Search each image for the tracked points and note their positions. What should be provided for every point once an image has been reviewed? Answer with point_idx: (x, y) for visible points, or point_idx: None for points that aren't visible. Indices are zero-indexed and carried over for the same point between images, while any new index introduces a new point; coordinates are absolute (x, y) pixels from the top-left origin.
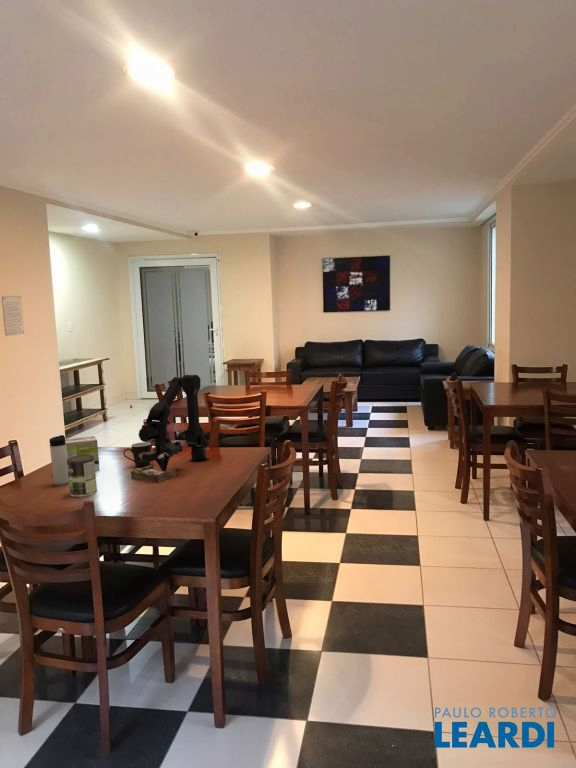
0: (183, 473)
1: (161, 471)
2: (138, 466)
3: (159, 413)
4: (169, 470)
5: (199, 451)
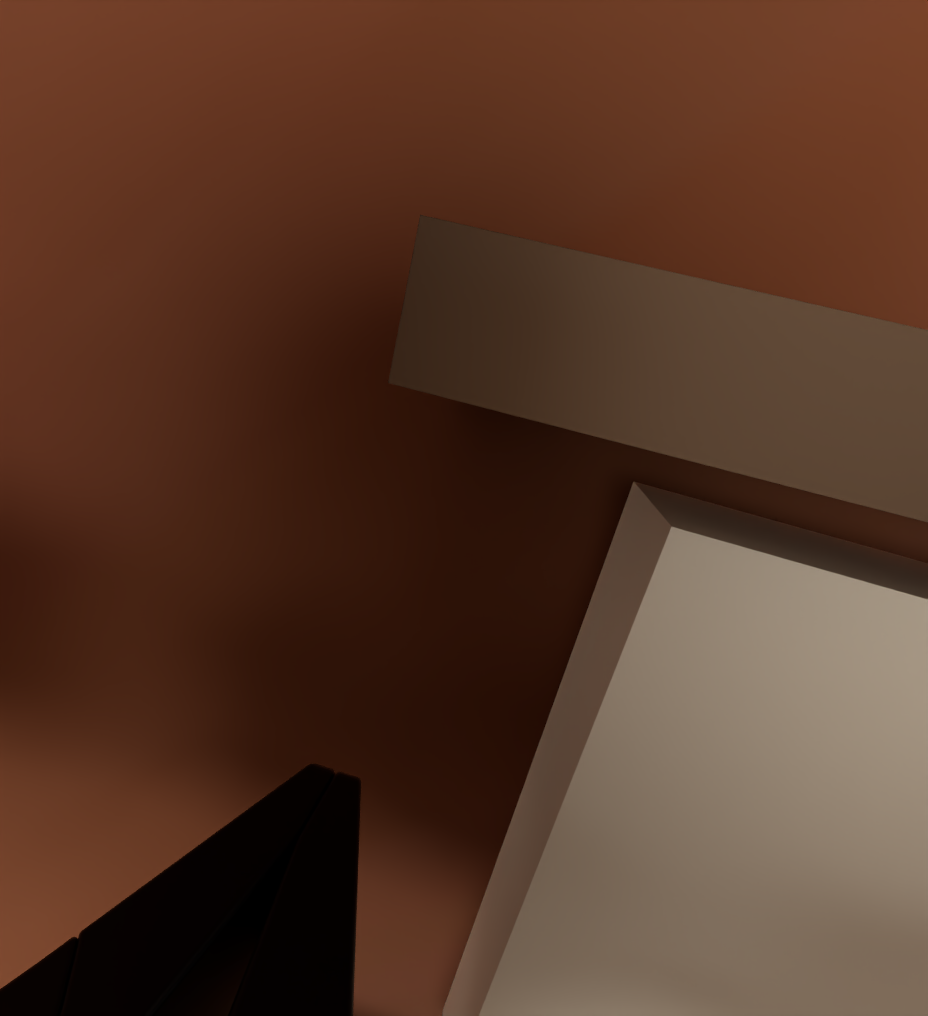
0: (174, 236)
1: (594, 835)
2: None
3: None
4: (754, 457)
5: None
